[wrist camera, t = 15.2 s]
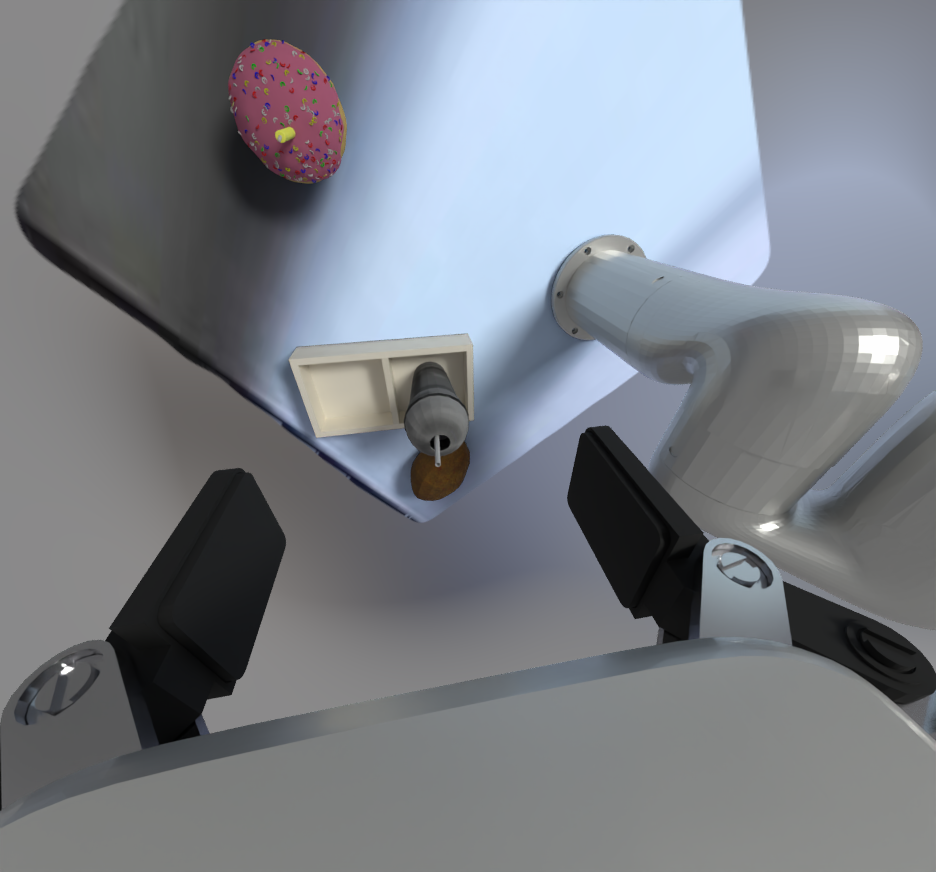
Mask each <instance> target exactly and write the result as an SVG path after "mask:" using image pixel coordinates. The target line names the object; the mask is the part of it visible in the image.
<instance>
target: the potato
mask: <svg viewBox="0 0 936 872" xmlns="http://www.w3.org/2000/svg"><path fill="white" fill-rule="evenodd" d="M440 460H441V465H440V467H437V466H435V456H430V455H427V454H424V453H422V452H420V453H419V455H418V456H417V457H416V459H415V460H414V462H413V464H412V468H411V486H412V490H413V492H414V494H415V496H416V497H417V498H419V499H422V500H425V501H434V500H439V499H442V498H444V497H446V496H447V495H449V494H451V493H452V492H454V491H455V490H456V489H457V488H458V487H459V486H460V485H461V483H462V482H463V480H464V478H465V475H466V472H467V469H468V466H469V464H470V452H469V449H468V447H467V445H466V443H465V442H463V443H462V444H461V446H460V447H459V448H458V449H457V450H455V451H454V452H452V453H450V454H448V455H445V456H440Z"/></svg>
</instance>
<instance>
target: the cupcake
mask: <svg viewBox="0 0 936 872" xmlns="http://www.w3.org/2000/svg"><path fill="white" fill-rule="evenodd" d="M250 45H251V46H250V47H249V48H247V49H246V50H244V51H243V52H242V53H241V54H240V55H239V57H238V58H237V60H236V62H235V64H234V67H233V70H232V72H231V74H230V77H229V82H228V90H229V100H230V102H231V108H230V109H231V112H232V113H233V114H234V117H235V121H236V124H237V127H238V130H239V131H238V133H239V134H240V135H241V137H242V138H243V140H244V142H245V143H246V144H247V145H248V147H250V149H251V150H252V151H253V152H254V153H255V154H256V155H257V156H258V158H259V159H260V160H261V161H262V162H263V163H264V164H265V165H266V167H267V168H269V169H270V170H271V171H273V172H274V173H276V174H278V175H280V176H282V177H283V178H286V179H288V180H291V181H294V182H298V183H316V182H319V181H321V180H323V179H326V178H329V177H331V176H332V175H333V174H334V173H335V172H336V171H337V169H338V168H339V166H340V163H341V158H342V156H343V153H344V150H345V145H346V132H347V124H346V118H345V114H344V111H343V108H342V105H341V103H340V100H339V98H338V95H337V93H336V90H335V88H334V85H333V83H332V82H331V80H330V78H329V77H328V76H327V75H326V74H325V72H324V71H323V70H322V68H321V67H320V66H319V65H318V64H317V63H316V62H315V61H314V60H313V59H312V58H311V57H310V56H309V55H308V54H306V53H305V52H303V51H301V50H300V49H298V48H296V47H294V46H292V45H290V44H288V43H286V42H284V41H283V40H282V41H280V40H271V39H269V40H265V39H264V40H260V41H257V42H255V43H250ZM232 110H233V111H232Z"/></svg>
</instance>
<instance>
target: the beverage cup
mask: <svg viewBox="0 0 936 872" xmlns="http://www.w3.org/2000/svg"><path fill="white" fill-rule="evenodd" d="M468 425H469V414H468V412H467V409H466V407H465V405H464V404H463V403H462V402H461V401H460V399H459V398H458V397H457V395H456V393H455V391H454V389H453V386H452V384H451V382H450V380H449V378H448V376H447V373H446V372H445V370H444V368H443V367H442V366H441V365H439V364H438V363H435V362H425V363H422V364H420V365H419V366H418V367H417V368H416V370H415V371H414V375H413V380H412V386H411V394H410V402H409V405H408V408H407V411H406V412H405V417H404V427H405V431H406V433H407V436H408V438H409V439H410V441H411V443H412V444H413V446H414V447H416V448H417V449H418V450H419V451H420V452H422V453H424V454H427V455H430V456H435V466H437V467H440V465H441V460H440V456H445V455H448V454H450V453H452V452H454V451H455V450H457V449H458V448H459V447H460V446H461V444H462V443H463V442H464V440H465V438H466V435H467V432H468Z"/></svg>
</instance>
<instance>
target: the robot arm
mask: <svg viewBox="0 0 936 872" xmlns="http://www.w3.org/2000/svg"><path fill="white" fill-rule="evenodd" d="M628 247H629V248H628ZM585 249H586V252H584V251H585ZM558 292H559V295H557V293H558ZM551 306H552V310H553V315H554V317H555V319H556V322H557V323H558V324H559V326H560V327H561V328H562V329H563V330H564V331H565V332H566V333H568V334H569V335H570V336H572V337H575V338H578V339H582V340H597V341H599V342H600V343H601V344H603V345H604V346H605V347H607V348H608V349H609V350H611V351H612V352H613V353H615V354H616V355H617V356H618V357H620V358H621V359H622V360H624V361H625V362H626V363H628V364H629V365H630V366H632V367H633V368H634V369H636V370H637V371H639V372H640V373H641V374H643V375H644V376H646V377H647V378H649V379H651V380H653V381H656V382H659V383H663V384H671V385H683V384H691V385H690V387H689V389H688V391H687V392H686V394H685V396H684V398H683V400H682V403H681V405H680V407H679V408H678V410H677V412H676V414H675V415H674V417H673V419H672V421H671V423H670V424H669V426H668V428H667V430H666V431H665V433H664V435H663V437H662V438H661V440H660V442H659V444H658V446H657V448H656V450H655V452H654V453H653V456H652V458H651V460H650V463H649V466H648V470H647V469H646V467H645V466H643V464H642V463H641V462H640V461H639V460H638V458H637V457H636V456H635V455H634V454H633V453H632V452H631V451H630V449H629V448H628V447H627V446H626V445H625V444H624V443H623V441H621V439H620V438H619V437H618V436H617V435H616V434H615V432H614V431H613V430H612V429H611V428H610V427H609V426H598V427H590V428H588V429H586V431H585V433H582V434H581V435H580V439H579V444H578V448H577V454H576V458H575V462H574V467H573V472H572V476H571V482H570V486H569V491H568V497H567V499H568V505H569V507H570V509H571V511H572V513H573V515H574V517H575V518H576V520H577V522H578V524H579V526H580V528H581V530H582V532H583V533H584V535H585V537H586V539H587V541H588V543H589V545H590V547H591V549H592V550H593V552H594V554H595V556H596V558H597V560H598V562H599V564H600V565H601V567H602V569H603V571H604V573H605V575H606V577H607V579H608V580H609V582H610V584H611V586H612V588H613V590H614V592H615V593H616V595H617V597H618V599H619V601H620V603H621V604H622V605H623V606H624V607H625V608H629V609H630V611H631V613H632V615H633V617H634V618H635V619H638V618H643V617H649V616H653V618H654V620H655V621H656V623H657V625H658V626H659V630H658V637H657V644H656V645H654V646H648V647H642V648H637V649H631V650H625V651H620V652H614V653H609V654H603V655H599V656H593V657H588V658H583V659H578V660H572V661H567V662H562V663H558V664H552V665H547V666H541V667H536V668H532V669H526V670H521V671H516V672H510V673H505V674H501V675H495V676H490V677H486V678H480V679H475V680H470V681H465V682H460V683H455V684H450V685H445V686H440V687H435V688H430V689H425V690H420V691H415V692H409V693H405V694H400V695H394V696H390V697H385V698H379V699H374V700H370V701H364V702H360V703H355V704H350V705H345V706H340V707H335V708H330V709H325V710H320V711H316V712H310V713H306V714H301V715H296V716H291V717H286V718H281V719H276V720H271V721H266V722H261V723H256V724H252V725H247V726H243V727H238V728H234V729H229V730H225V731H220V732H215V733H211V734H210V733H209V731H208V728H207V726H206V724H205V721H204V719H203V716H202V711H203V709H204V706H205V704H206V701H207V699H212V698H218V697H223V696H228V695H232V692H233V689H234V686H235V683H236V680H238V679H240V678H241V677H242V676H243V674H244V672H245V670H246V667H247V665H248V661H249V658H250V655H251V652H252V649H253V646H254V642H255V640H256V636H257V634H258V630H259V627H260V624H261V621H262V618H263V615H264V612H265V609H266V606H267V603H268V600H269V596H270V593H271V590H272V587H273V584H274V581H275V578H276V575H277V571H278V568H279V565H280V562H281V559H282V556H283V553H284V550H285V546H286V539H285V535H284V533H283V532H282V529H281V527H280V526H279V524H278V522H277V520H276V518H275V517H274V514H273V513H272V511H271V509H270V507H269V505H268V504H267V501H266V500H265V498H264V496H263V494H262V492H261V490H260V488H259V487H258V485H257V483H256V481H255V479H254V477H253V476H252V474H251V473H245V471H244V470H243V469H241V468H236V469H227V470H218V471H215V472H214V473H213V474H212V475H211V476H210V478H209V479H208V481H207V482H206V484H205V485H204V487H203V488H202V490H201V491H200V493H199V494H198V496H197V497H196V499H195V500H194V502H193V503H192V505H191V506H190V508H189V509H188V511H187V512H186V514H185V515H184V517H183V518H182V520H181V521H180V523H179V524H178V526H177V527H176V529H175V530H174V532H173V533H172V535H171V536H170V538H169V539H168V541H167V542H166V544H165V545H164V547H163V548H162V550H161V551H160V553H159V554H158V556H157V557H156V559H155V560H154V562H153V563H152V565H151V566H150V568H149V569H148V571H147V572H146V574H145V575H144V577H143V578H142V580H141V581H140V583H139V584H138V586H137V587H136V589H135V590H134V592H133V593H132V595H131V596H130V598H129V599H128V601H127V602H126V604H125V605H124V607H123V608H122V610H121V611H120V613H119V614H118V616H117V617H116V619H115V620H114V622H113V623H112V625H111V626H110V628H109V629H111V630H112V631H111V633H110V634H109V636H108V637H107V639H106V640H105V641H103V640H92V641H86V642H83V643H80V644H78V645H74V646H73V647H70V648H68V649H66V650H64V651H63V652H61V653H59V654H57V655H56V656H54V657H53V658H51V659H50V660H48V661H47V662H45V663H44V664H43V665H41V666H40V667H39V668H38V669H37V670H35V671H34V672H33V673H32V674H31V675H30V676H29V677H28V678H27V679H25V680H24V682H23V683H22V684H21V685H20V686H19V688H18V689H17V690H16V691H15V692H14V694H13V695H12V696H11V698H10V699H9V701H8V703H7V705H6V707H5V708H4V710H3V713H2V718H1V723H0V872H936V673H935V671H934V669H933V667H932V665H931V664H930V662H929V661H928V660H927V659H926V657H924V655H923V654H922V653H921V652H920V651H919V650H918V649H917V648H916V647H915V646H914V645H913V644H912V643H910V642H909V641H908V640H907V639H906V638H904V637H903V636H901V635H900V634H898V633H897V632H895V631H894V630H893V629H891V628H889V627H887V626H885V625H883V624H881V623H879V622H877V621H875V620H873V619H871V618H868V617H866V616H864V615H861V614H859V613H857V612H854V611H852V610H850V609H847V608H845V607H843V606H840V605H838V604H835V603H833V602H831V601H828V600H826V599H824V598H821V597H819V596H816V595H814V594H812V593H809V592H807V591H805V590H803V589H800V588H797V587H796V586H793V585H791V584H789V583H786V582H784V581H783V580H782V577H781V575H780V572H779V570H778V569H777V568H776V567H778V568H779V569H782V570H784V571H786V572H788V573H790V574H792V575H794V576H796V577H798V578H800V579H802V580H804V581H806V582H808V583H810V584H812V585H814V586H816V587H818V588H820V589H822V590H824V591H826V592H828V593H830V594H832V595H834V596H836V597H838V598H840V599H842V600H844V601H846V602H849V603H851V604H853V605H855V606H858V607H859V608H862V609H864V610H866V611H868V612H870V613H873V614H875V615H878V616H881V617H883V618H886V619H889V620H892V621H895V622H898V623H901V624H905V625H910V626H915V627H919V628H924V629H930V630H936V390H935V391H934V392H932V393H930V394H929V395H927V396H926V397H925V398H924V399H922V400H921V401H920V402H918V403H917V404H916V405H915V406H913V407H912V408H911V409H910V410H909V411H908V412H907V413H906V414H904V415H903V416H902V417H901V418H900V419H899V420H898V421H897V422H896V423H895V424H893V425H892V426H891V427H890V428H889V429H888V430H887V431H886V432H885V433H884V434H883V435H882V436H881V437H880V438H879V439H878V440H877V441H876V442H875V443H874V444H873V445H872V446H871V447H870V448H869V449H868V450H867V451H866V452H865V453H864V454H863V455H862V456H860V458H859V459H857V461H856V462H854V463H853V464H852V466H850V467H849V468H848V469H847V470H846V472H844V473H843V474H842V476H840V477H839V478H838V479H837V480H836V481H835V482H834V483H833V484H832V485H831V486H830V487H828V488H826V489H824V490H813V489H811V488H812V487H813V486H814V485H815V484H816V482H817V481H818V480H819V479H820V478H821V477H822V476H823V475H824V474H825V473H826V472H827V471H828V470H829V469H830V468H831V467H833V466H834V465H835V464H837V462H839V460H840V459H841V458H842V457H843V456H844V455H845V454H846V453H847V452H848V451H849V450H850V449H851V448H852V447H853V446H854V445H855V444H856V443H857V442H858V441H859V440H860V439H861V438H862V437H863V436H864V434H865V433H866V432H867V431H868V430H869V429H870V428H871V427H872V426H873V425H874V424H875V423H876V422H877V421H878V420H879V419H880V418H881V417H882V416H883V415H884V414H885V413H886V412H887V411H888V410H889V408H890V407H891V406H892V405H893V404H894V403H895V401H896V400H897V399H898V398H899V397H900V395H901V394H902V392H903V391H904V390H905V388H906V386H907V385H908V384H909V382H910V380H911V379H912V378H913V376H914V374H915V371H916V370H917V367H918V364H919V361H920V359H921V354H922V337H921V333H920V331H919V329H918V327H917V326H916V325H915V323H914V322H913V321H912V320H911V319H910V318H908V317H907V316H906V315H905V314H904V313H902V312H900V311H898V310H896V309H894V308H891V307H889V306H887V305H884V304H881V303H877V302H874V301H870V300H866V299H862V298H856V297H849V296H843V295H835V294H823V293H810V292H798V291H785V290H776V289H769V288H761V287H754V286H749V285H744V284H740V283H735V282H731V281H726V280H722V279H719V278H715V277H711V276H708V275H704V274H700V273H696V272H693V271H689V270H686V269H682V268H678V267H675V266H671V265H667V264H664V263H660V262H657V261H653V260H649V259H647V258H646V256H645V254H644V252H643V250H642V249H641V248H640V246H639V245H638V244H637V243H636V242H634V241H633V240H631V239H630V238H627V237H624V236H620V235H614V234H611V235H602V236H598V237H594V238H592V239H590V240H588V241H586V242H584V243H583V244H582V245H580V246H579V247H578V248H576V249H575V250H574V251H573V252H572V253H571V254H570V255H569V256H568V257H567V259H566V260H565V262H564V263H563V264H562V266H561V268H560V270H559V272H558V274H557V276H556V278H555V281H554V284H553V289H552V295H551ZM573 328H574V329H573ZM572 329H573V330H572ZM701 530H703V531H705V532H707V533H709V534H711V535H713V536H715V537H717V539H713V540H711V541H709V540H708V539H707V538H706V537H705V536H704V535H703V532H702V531H701Z"/></svg>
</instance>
